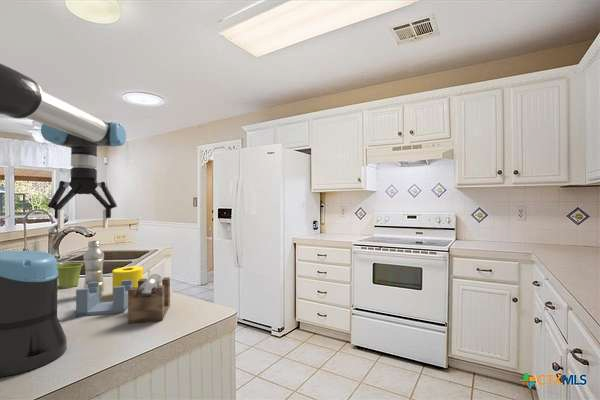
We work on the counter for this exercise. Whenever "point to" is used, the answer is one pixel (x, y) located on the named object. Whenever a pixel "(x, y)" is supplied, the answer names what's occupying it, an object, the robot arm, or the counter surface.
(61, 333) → the robot arm
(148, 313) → the bearing stand
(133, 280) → the yellow hollow cylinder
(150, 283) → the steel axle
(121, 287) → the blue notched cradle
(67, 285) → the plant pot
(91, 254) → the metal bottle
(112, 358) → the counter surface
